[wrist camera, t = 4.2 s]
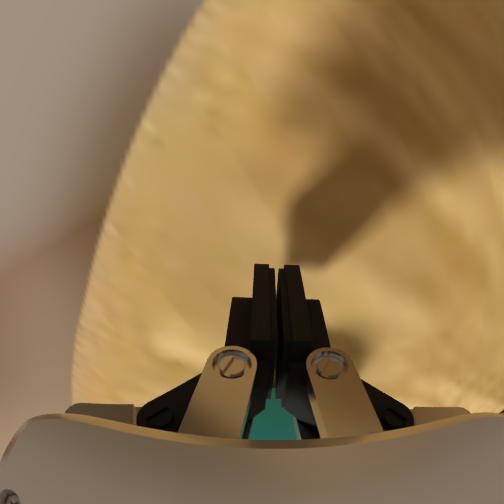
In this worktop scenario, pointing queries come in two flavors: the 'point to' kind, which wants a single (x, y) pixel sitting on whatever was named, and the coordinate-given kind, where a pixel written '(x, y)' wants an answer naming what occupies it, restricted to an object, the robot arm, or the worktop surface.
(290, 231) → the worktop surface
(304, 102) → the worktop surface
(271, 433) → the ball
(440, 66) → the worktop surface
